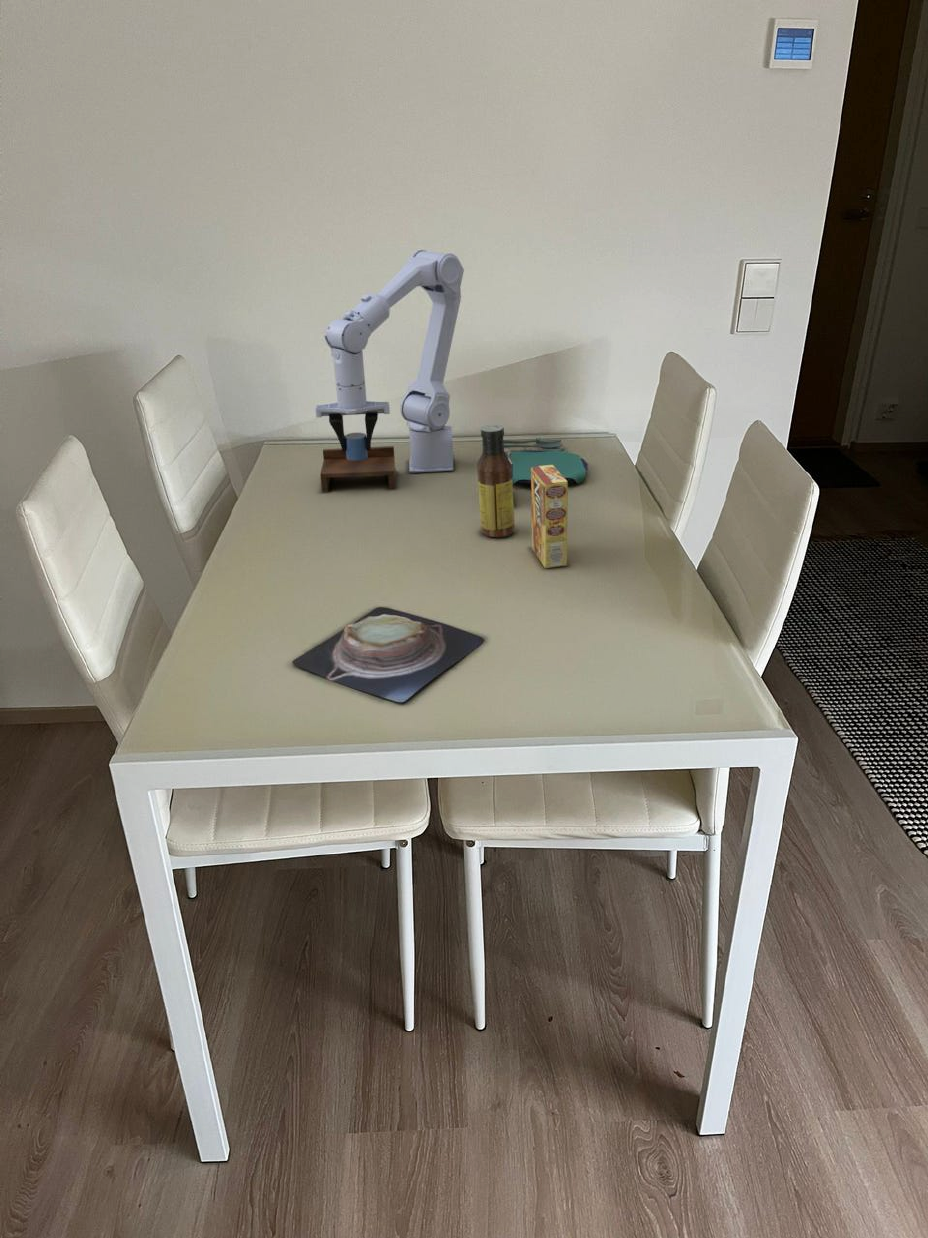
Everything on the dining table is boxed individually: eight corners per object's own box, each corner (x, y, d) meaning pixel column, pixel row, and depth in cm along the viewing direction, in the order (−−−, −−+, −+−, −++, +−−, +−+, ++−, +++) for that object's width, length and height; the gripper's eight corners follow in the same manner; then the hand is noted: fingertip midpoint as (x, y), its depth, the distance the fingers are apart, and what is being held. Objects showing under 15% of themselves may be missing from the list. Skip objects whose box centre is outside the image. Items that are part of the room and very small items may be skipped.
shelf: (395, 472, 207) (393, 445, 204) (395, 489, 198) (393, 461, 196) (325, 475, 207) (323, 448, 204) (322, 492, 198) (319, 464, 195)
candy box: (567, 566, 163) (570, 480, 156) (543, 569, 162) (544, 483, 155) (552, 546, 171) (553, 463, 164) (529, 548, 170) (529, 466, 163)
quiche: (402, 706, 127) (400, 680, 125) (288, 665, 137) (285, 641, 135) (487, 639, 142) (486, 615, 140) (379, 607, 152) (377, 584, 150)
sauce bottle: (515, 525, 179) (514, 421, 170) (513, 539, 174) (512, 432, 164) (480, 525, 180) (477, 421, 171) (477, 538, 175) (474, 432, 165)
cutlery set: (496, 492, 195) (495, 481, 194) (489, 445, 221) (489, 436, 220) (593, 489, 195) (594, 478, 194) (576, 442, 221) (576, 433, 220)
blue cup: (368, 453, 198) (366, 431, 195) (367, 460, 194) (365, 438, 192) (346, 454, 197) (344, 432, 195) (345, 461, 194) (343, 439, 191)
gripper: (311, 389, 185) (319, 457, 191) (387, 386, 185) (392, 454, 192) (314, 380, 191) (321, 446, 197) (387, 377, 191) (392, 442, 198)
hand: (356, 449), depth 195 cm, fingers closed on blue cup, 4 cm apart
